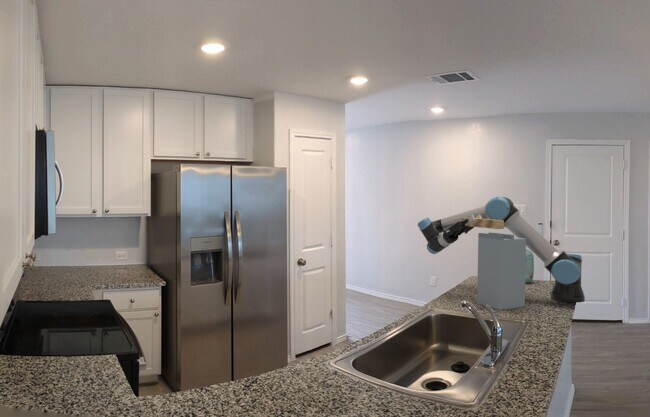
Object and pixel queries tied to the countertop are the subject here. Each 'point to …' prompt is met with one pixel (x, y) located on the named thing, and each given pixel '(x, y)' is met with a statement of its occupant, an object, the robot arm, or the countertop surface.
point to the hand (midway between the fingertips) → (477, 217)
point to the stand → (501, 270)
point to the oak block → (486, 223)
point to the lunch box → (529, 266)
